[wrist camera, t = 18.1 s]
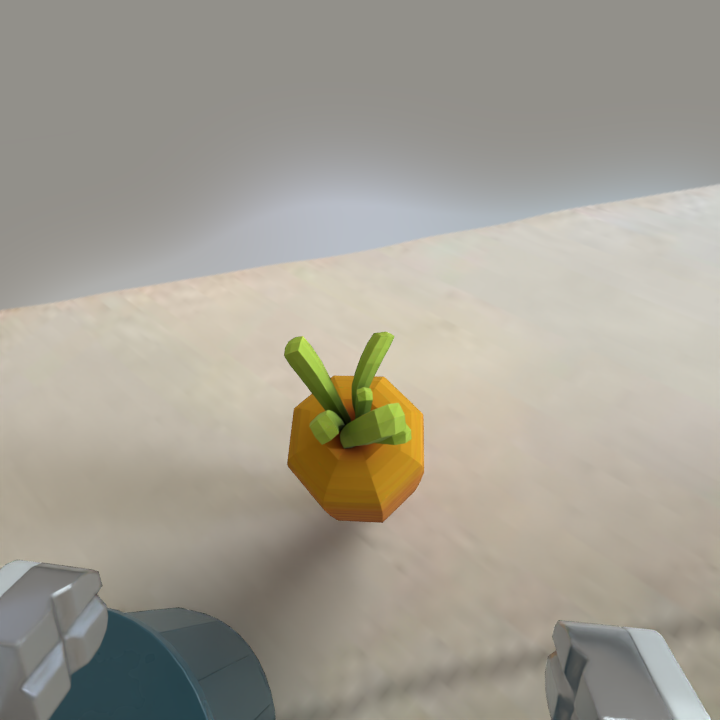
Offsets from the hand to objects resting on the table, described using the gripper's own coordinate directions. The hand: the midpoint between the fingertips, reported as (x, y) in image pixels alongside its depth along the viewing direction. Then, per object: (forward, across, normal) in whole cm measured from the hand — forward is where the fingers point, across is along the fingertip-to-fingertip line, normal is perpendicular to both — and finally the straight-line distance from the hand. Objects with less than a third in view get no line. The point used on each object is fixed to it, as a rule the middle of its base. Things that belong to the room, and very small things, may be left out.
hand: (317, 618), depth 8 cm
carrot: (+15, 0, +8) cm, 17 cm away
